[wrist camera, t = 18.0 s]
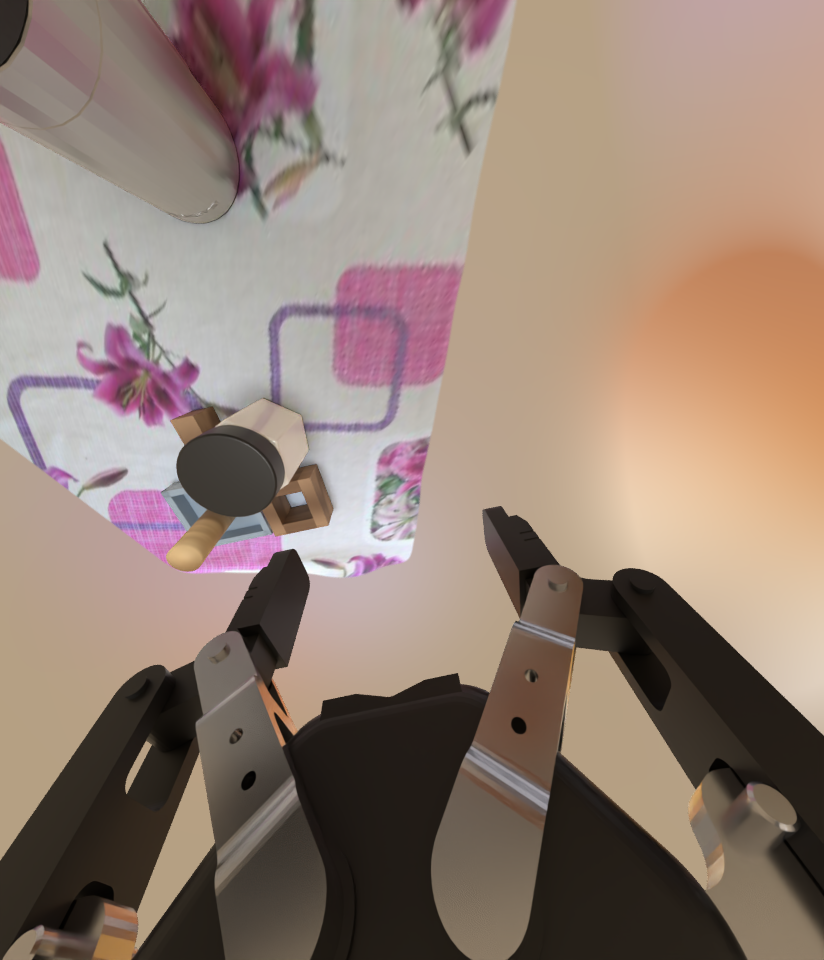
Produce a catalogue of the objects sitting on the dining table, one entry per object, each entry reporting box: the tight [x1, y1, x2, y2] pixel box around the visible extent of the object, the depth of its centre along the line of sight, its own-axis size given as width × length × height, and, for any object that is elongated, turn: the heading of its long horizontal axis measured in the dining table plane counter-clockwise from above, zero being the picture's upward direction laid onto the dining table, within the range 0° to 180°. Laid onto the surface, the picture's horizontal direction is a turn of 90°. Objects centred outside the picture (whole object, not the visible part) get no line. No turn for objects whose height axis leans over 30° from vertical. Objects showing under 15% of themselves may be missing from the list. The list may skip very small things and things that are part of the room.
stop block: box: [170, 407, 220, 445], centre depth 34 cm, size 7×2×4 cm, turn 11°
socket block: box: [262, 464, 333, 536], centre depth 38 cm, size 7×7×4 cm
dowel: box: [166, 510, 236, 572], centre depth 35 cm, size 3×3×10 cm
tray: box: [161, 482, 273, 546], centre depth 39 cm, size 9×10×2 cm
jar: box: [176, 398, 309, 517], centre depth 31 cm, size 9×8×12 cm
